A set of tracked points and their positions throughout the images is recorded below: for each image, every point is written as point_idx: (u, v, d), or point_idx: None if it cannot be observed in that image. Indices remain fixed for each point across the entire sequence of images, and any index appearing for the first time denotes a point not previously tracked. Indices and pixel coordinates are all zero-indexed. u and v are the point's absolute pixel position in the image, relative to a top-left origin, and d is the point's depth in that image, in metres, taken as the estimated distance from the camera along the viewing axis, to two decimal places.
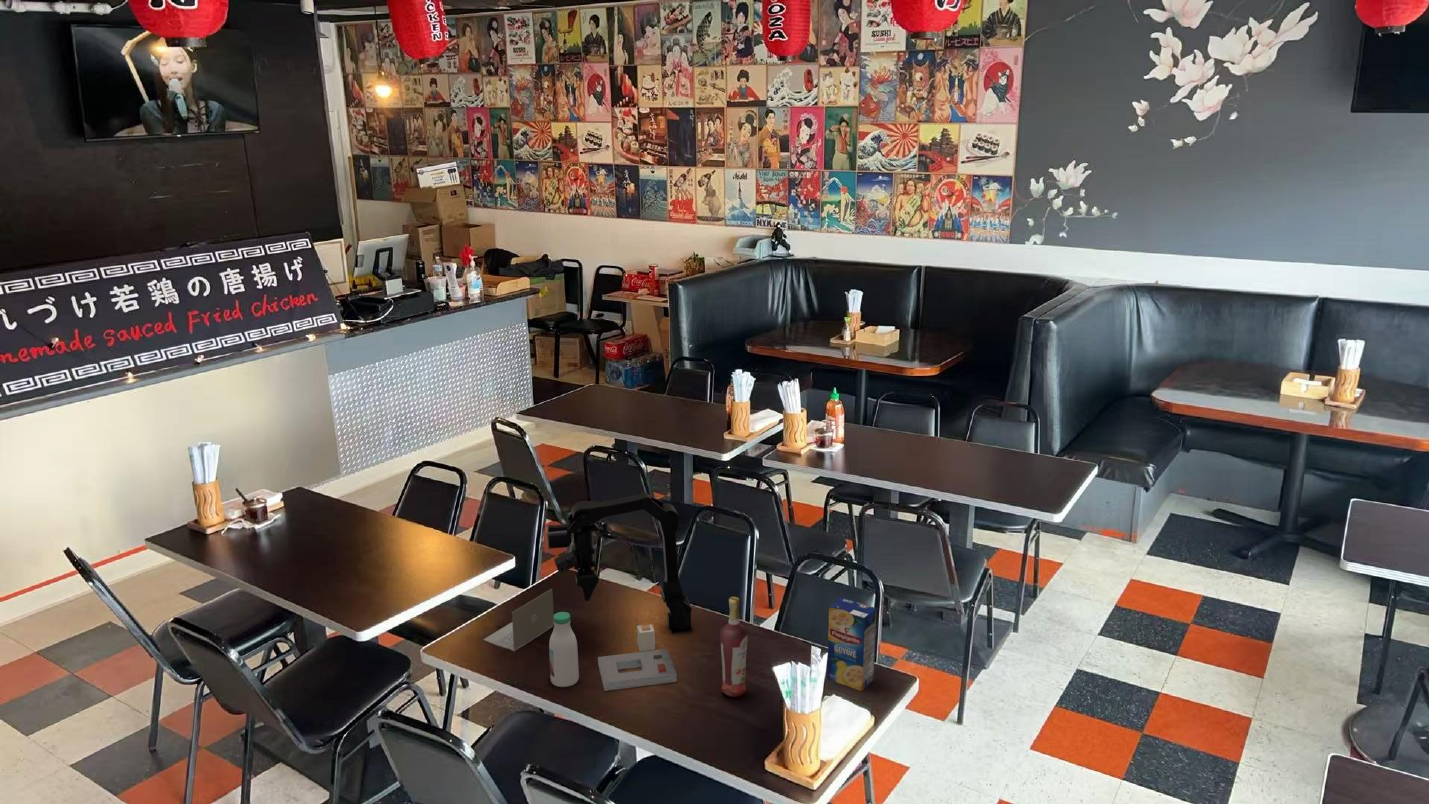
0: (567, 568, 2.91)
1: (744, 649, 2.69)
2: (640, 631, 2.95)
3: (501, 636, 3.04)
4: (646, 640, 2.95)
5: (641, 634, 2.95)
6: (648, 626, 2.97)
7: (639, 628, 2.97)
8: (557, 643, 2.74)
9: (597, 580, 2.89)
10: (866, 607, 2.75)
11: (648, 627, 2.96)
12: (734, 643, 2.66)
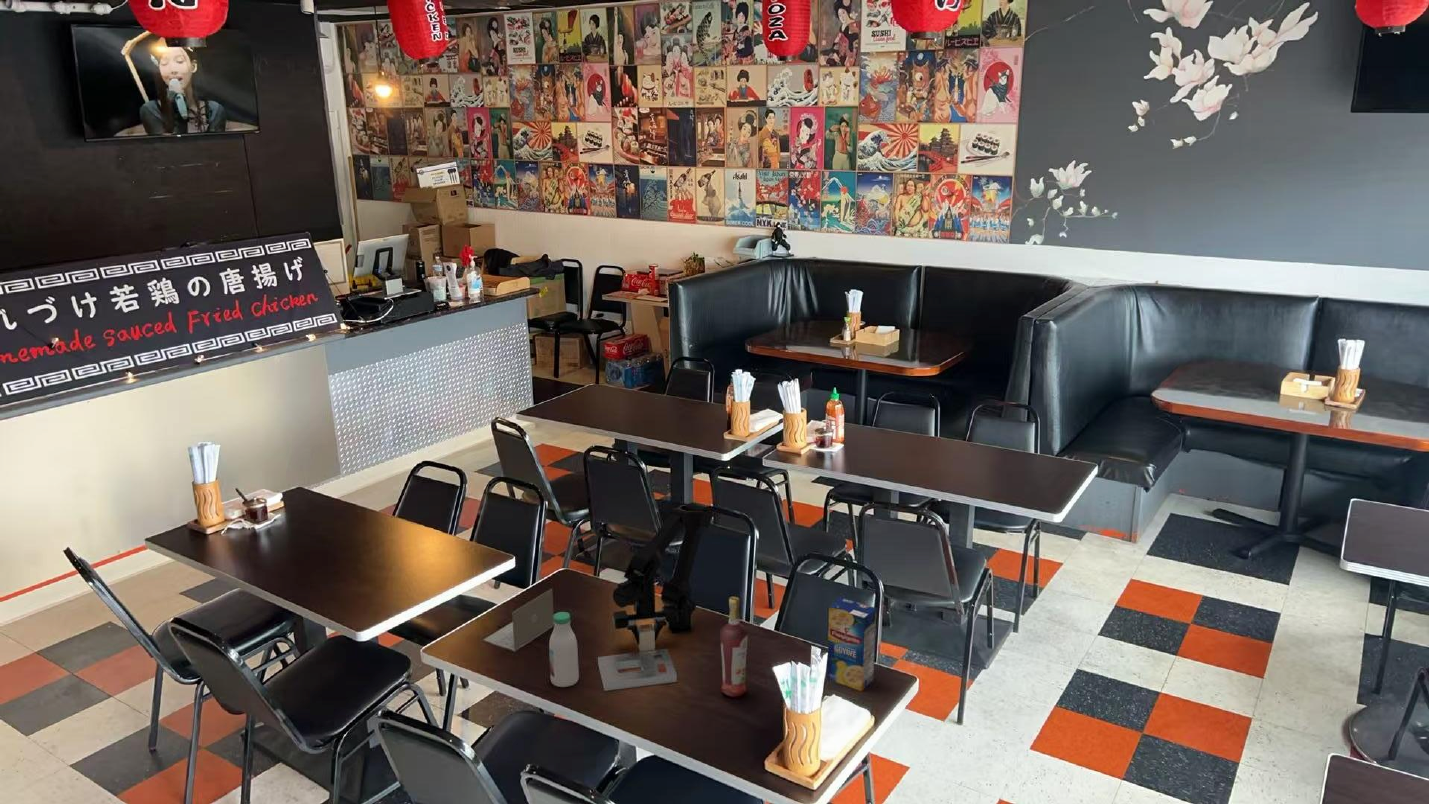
0: None
1: (744, 649, 2.69)
2: (640, 631, 2.95)
3: (501, 636, 3.04)
4: (646, 640, 2.95)
5: (641, 634, 2.95)
6: (648, 626, 2.97)
7: (639, 628, 2.97)
8: (557, 643, 2.74)
9: (615, 625, 2.91)
10: (866, 607, 2.75)
11: (648, 627, 2.96)
12: (734, 643, 2.66)
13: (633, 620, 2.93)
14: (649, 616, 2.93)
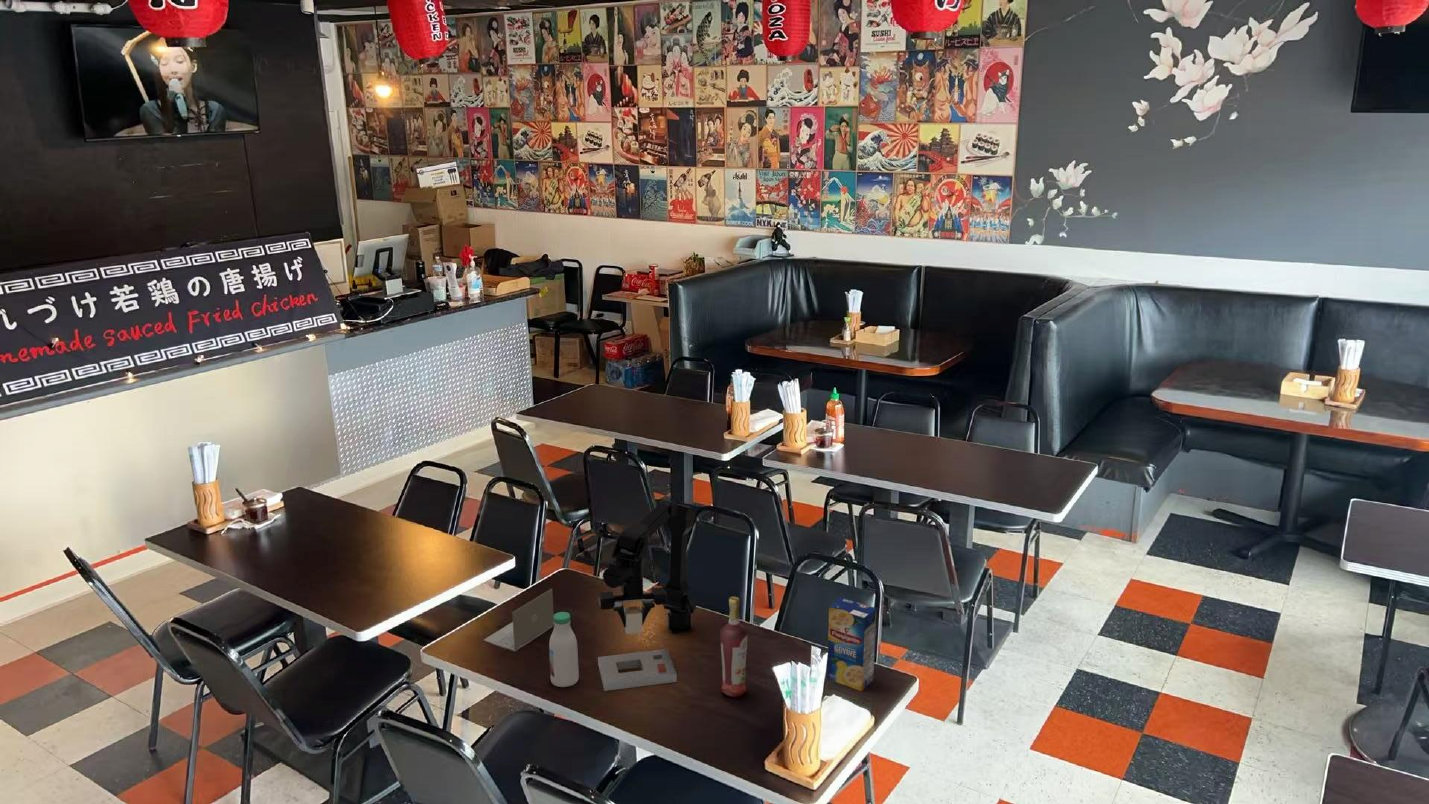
0: None
1: (744, 649, 2.69)
2: (627, 613, 2.82)
3: (501, 636, 3.04)
4: (633, 623, 2.83)
5: (628, 616, 2.82)
6: (635, 608, 2.84)
7: (626, 610, 2.84)
8: (557, 643, 2.74)
9: (601, 606, 2.79)
10: (866, 607, 2.75)
11: (635, 609, 2.83)
12: (734, 643, 2.66)
13: (620, 601, 2.80)
14: (636, 597, 2.80)
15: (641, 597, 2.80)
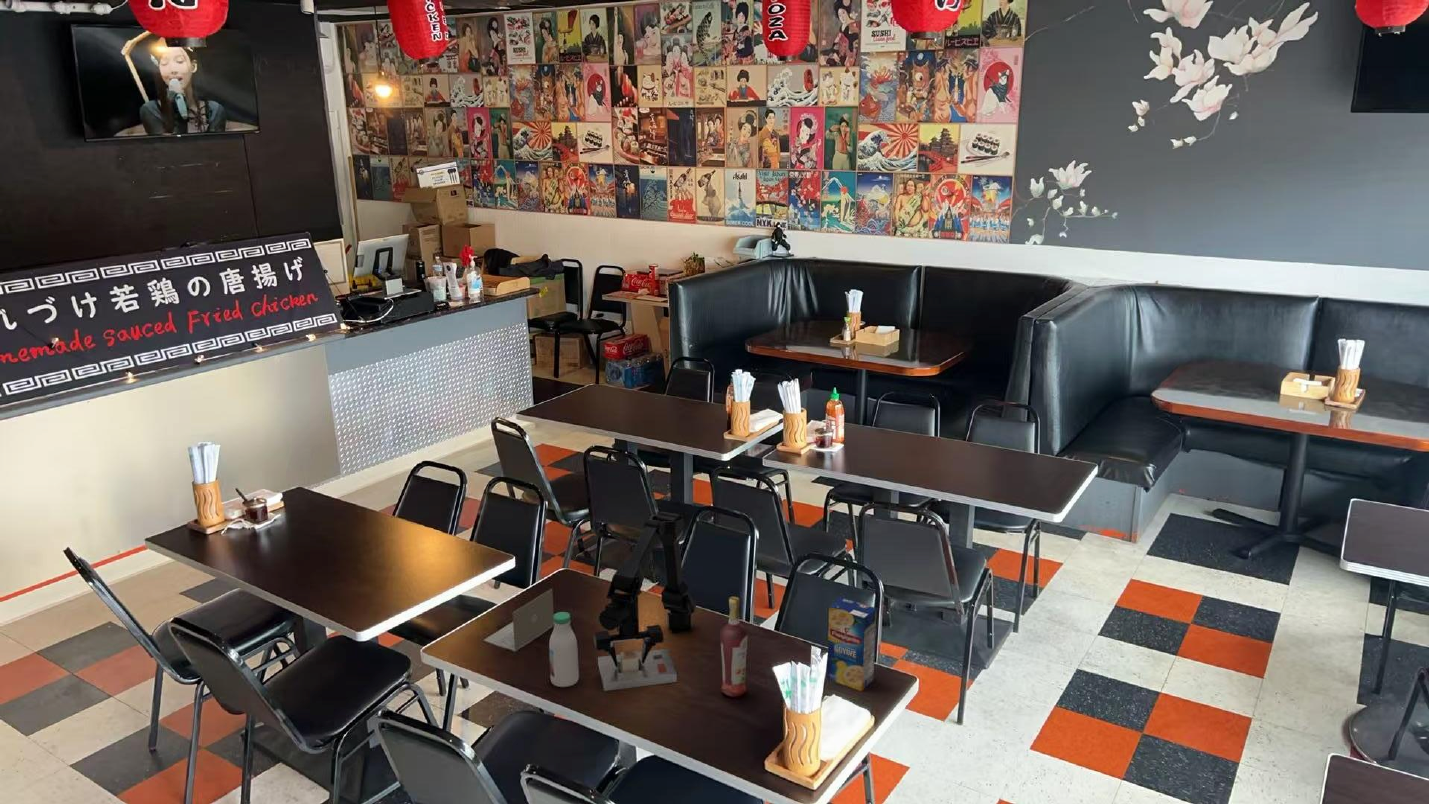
0: None
1: (744, 649, 2.69)
2: (623, 658, 2.81)
3: (501, 636, 3.04)
4: (629, 668, 2.81)
5: (624, 661, 2.80)
6: (631, 653, 2.82)
7: (622, 655, 2.82)
8: (557, 643, 2.74)
9: (597, 646, 2.76)
10: (866, 607, 2.75)
11: (631, 654, 2.82)
12: (734, 643, 2.66)
13: (611, 641, 2.78)
14: (632, 637, 2.78)
15: (637, 636, 2.78)
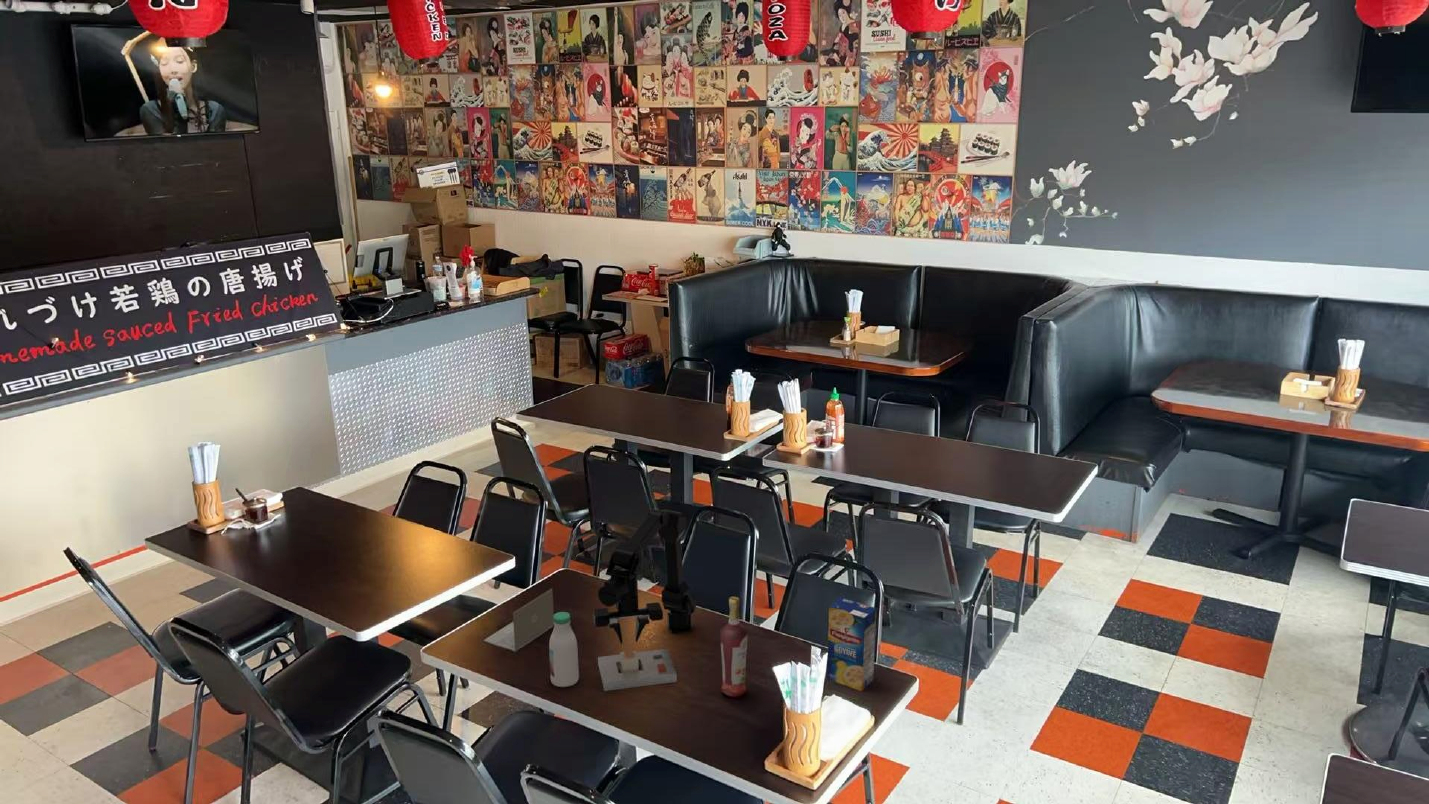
0: None
1: (744, 649, 2.69)
2: (623, 658, 2.81)
3: (501, 636, 3.03)
4: (629, 668, 2.81)
5: (624, 661, 2.80)
6: (631, 653, 2.82)
7: (622, 655, 2.82)
8: (557, 643, 2.74)
9: (596, 623, 2.74)
10: (866, 607, 2.75)
11: (631, 654, 2.82)
12: (734, 643, 2.66)
13: (616, 618, 2.76)
14: (632, 614, 2.76)
15: (636, 613, 2.76)
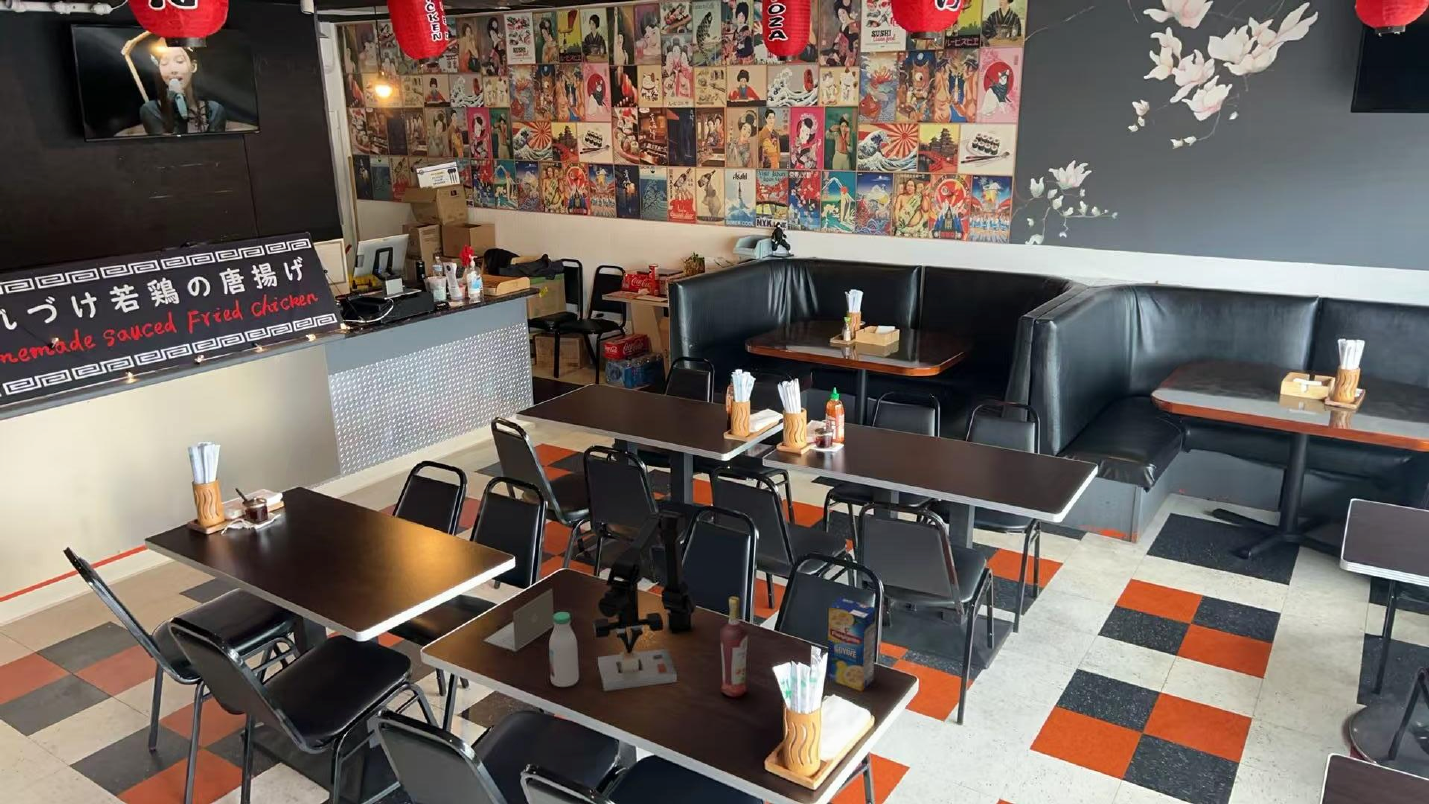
0: None
1: (744, 649, 2.69)
2: (623, 658, 2.81)
3: (501, 637, 3.03)
4: (629, 668, 2.81)
5: (624, 661, 2.80)
6: (631, 653, 2.82)
7: (622, 655, 2.82)
8: (557, 643, 2.74)
9: (596, 634, 2.75)
10: (866, 607, 2.75)
11: (631, 654, 2.82)
12: (734, 643, 2.66)
13: (623, 627, 2.77)
14: (632, 624, 2.77)
15: (637, 624, 2.77)
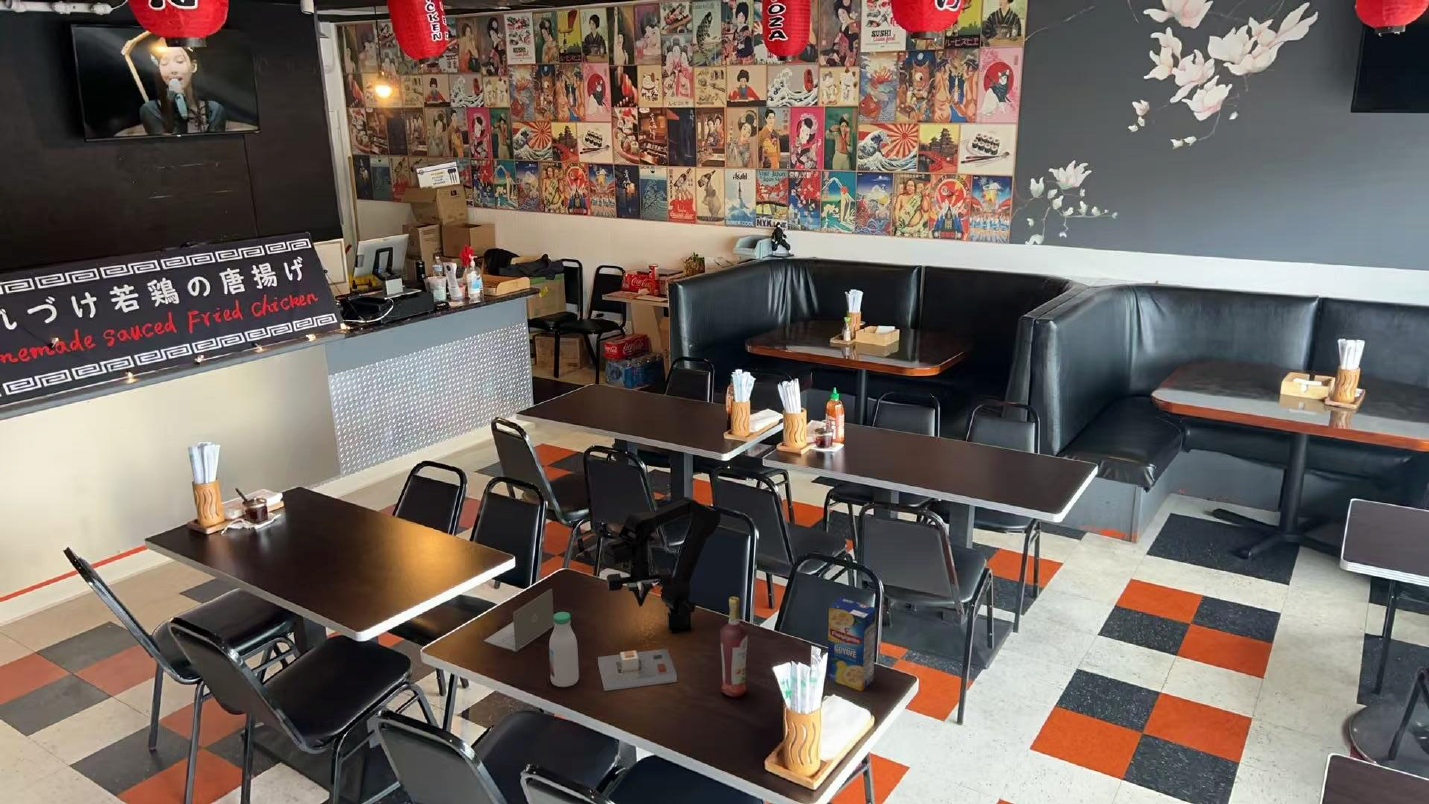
0: (622, 566, 2.99)
1: (744, 649, 2.69)
2: (623, 658, 2.81)
3: (501, 637, 3.03)
4: (629, 668, 2.81)
5: (624, 661, 2.80)
6: (631, 653, 2.82)
7: (622, 655, 2.82)
8: (557, 643, 2.74)
9: (610, 587, 2.91)
10: (866, 607, 2.75)
11: (631, 654, 2.82)
12: (734, 643, 2.66)
13: (635, 581, 2.93)
14: (643, 578, 2.92)
15: (648, 578, 2.93)
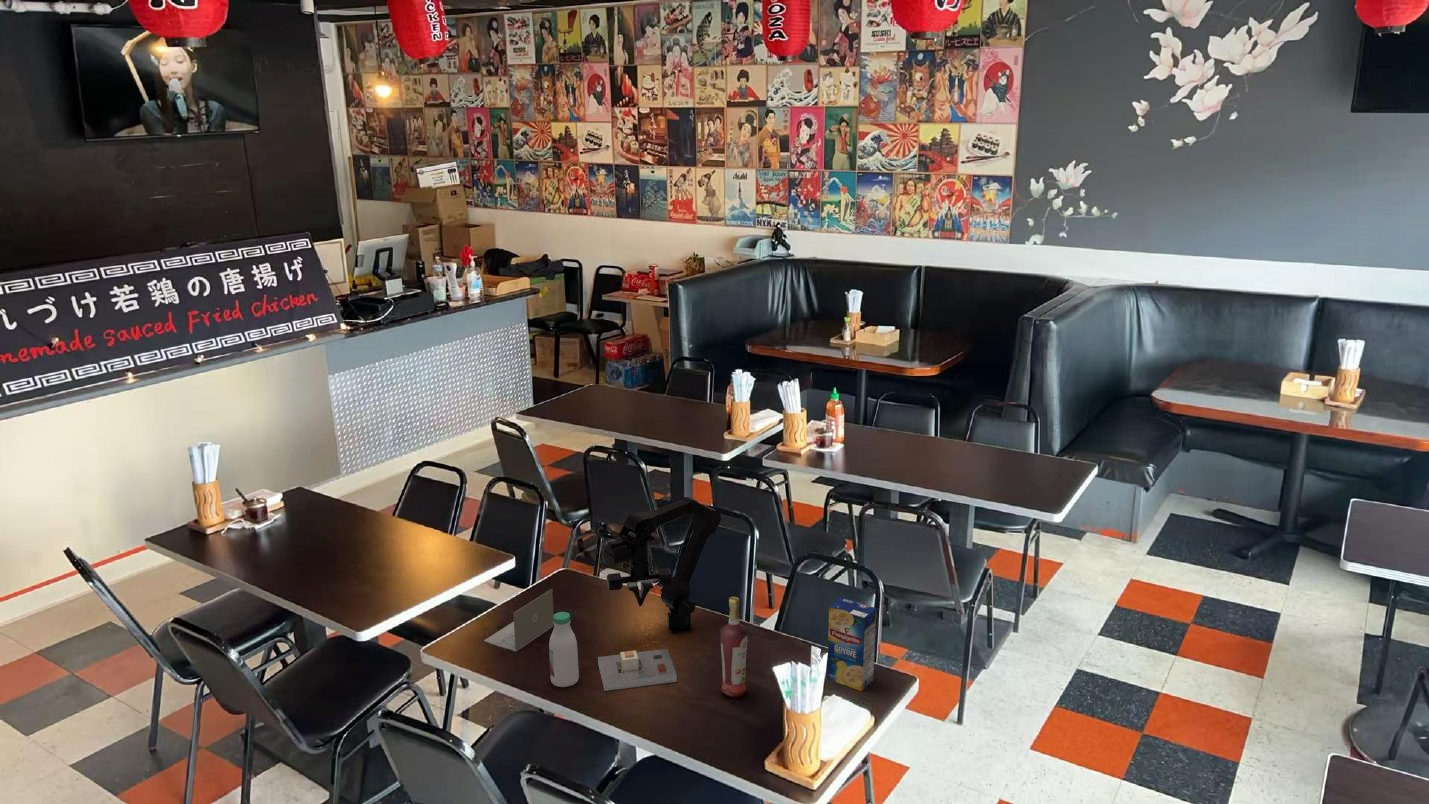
0: (622, 566, 2.99)
1: (744, 649, 2.69)
2: (623, 658, 2.81)
3: (502, 637, 3.03)
4: (629, 668, 2.81)
5: (624, 661, 2.80)
6: (631, 653, 2.82)
7: (622, 655, 2.82)
8: (557, 643, 2.74)
9: (609, 587, 2.91)
10: (866, 607, 2.75)
11: (631, 654, 2.82)
12: (734, 643, 2.66)
13: (634, 581, 2.93)
14: (643, 578, 2.92)
15: (647, 578, 2.93)
